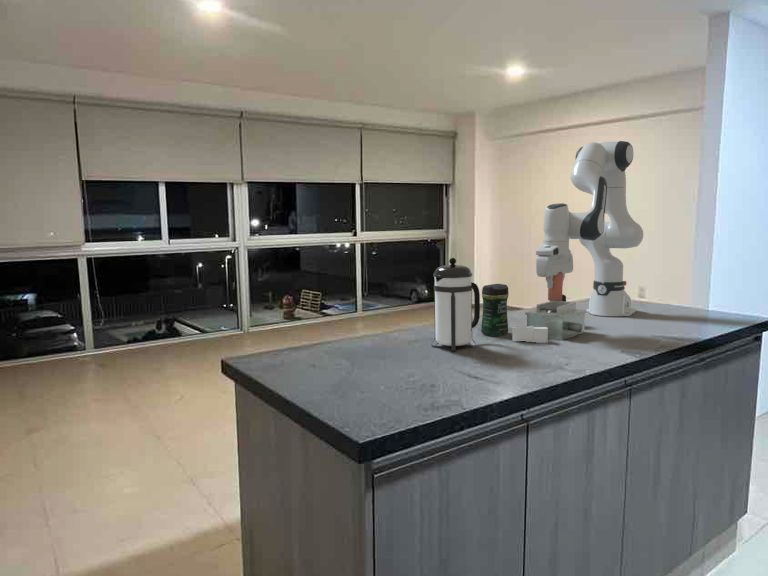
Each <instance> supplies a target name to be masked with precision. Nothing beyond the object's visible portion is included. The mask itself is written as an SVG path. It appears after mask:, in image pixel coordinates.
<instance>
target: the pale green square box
mask: <svg viewBox="0 0 768 576" xmlns="http://www.w3.org/2000/svg"><path fill="white" fill-rule="evenodd" d="M576 307H577V304H576V302H571V301H566V302H565V301H549V300H548V301H546V302H542V303H538V304H536V309H533V310H529V311H526V312H524V313H525V315H526V326H533V327H547V328H548V338H549V339H554V340H559V341H560V340H561V341H563V340H565V339H566V340H567V339H569V338H572V337H575V336H577V335H580V334H583V333H585V316H586V315H585V314H586V313H587V311H586V310H585V309H579V308H578V309H577V308H576Z"/></svg>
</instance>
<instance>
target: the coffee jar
mask: <svg viewBox="0 0 768 576" xmlns="http://www.w3.org/2000/svg"><path fill="white" fill-rule="evenodd" d="M481 298H482V316H481V317H482V318H481V328H480V331H481V334H483V335H484V336H487V337H488V336H489V337H490V336H493V337H497V336H503V335H507V334H508V333H509V321H508V299H509V287H508V285H507V284H503V283H494V284H493V283H492V284H486V285H483V287H482V289H481Z"/></svg>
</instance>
